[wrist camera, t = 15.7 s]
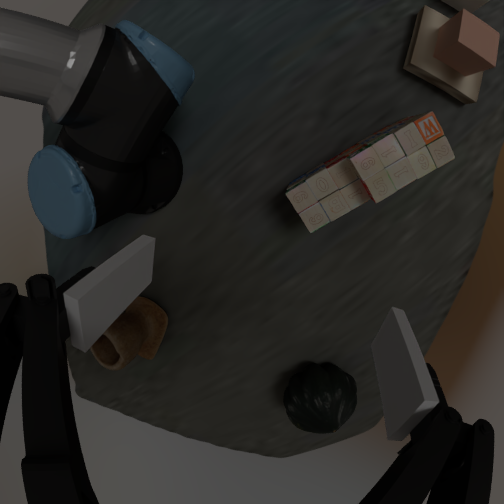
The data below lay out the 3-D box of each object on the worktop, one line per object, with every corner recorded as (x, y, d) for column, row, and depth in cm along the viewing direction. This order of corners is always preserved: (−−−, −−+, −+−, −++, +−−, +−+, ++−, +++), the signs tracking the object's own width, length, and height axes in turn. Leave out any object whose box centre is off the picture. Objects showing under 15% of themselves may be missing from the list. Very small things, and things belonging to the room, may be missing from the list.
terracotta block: (432, 56, 29) (458, 41, 21) (439, 27, 27) (463, 8, 19) (465, 76, 29) (495, 66, 21) (471, 47, 27) (499, 33, 18)
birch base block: (402, 68, 34) (410, 62, 31) (417, 13, 30) (424, 5, 26) (465, 104, 34) (476, 102, 30) (477, 49, 29) (487, 44, 25)
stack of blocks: (310, 216, 46) (309, 242, 35) (289, 182, 45) (281, 197, 34) (423, 152, 39) (457, 158, 28) (404, 116, 38) (433, 110, 26)
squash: (259, 397, 56) (295, 456, 45) (301, 351, 50) (348, 418, 40) (303, 386, 65) (337, 436, 54) (343, 345, 59) (385, 398, 49)
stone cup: (129, 281, 58) (86, 318, 44) (177, 312, 58) (142, 358, 45) (115, 327, 64) (79, 365, 51) (156, 354, 64) (126, 398, 51)
